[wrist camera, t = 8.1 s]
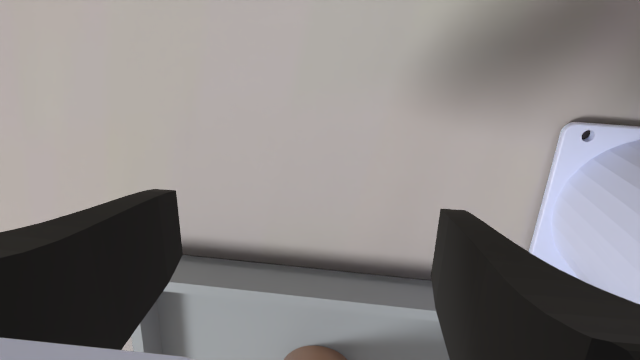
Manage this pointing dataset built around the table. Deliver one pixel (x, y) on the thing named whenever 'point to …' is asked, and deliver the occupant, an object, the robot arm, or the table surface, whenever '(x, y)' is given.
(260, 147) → the table surface
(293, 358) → the shaker
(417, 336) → the tray
